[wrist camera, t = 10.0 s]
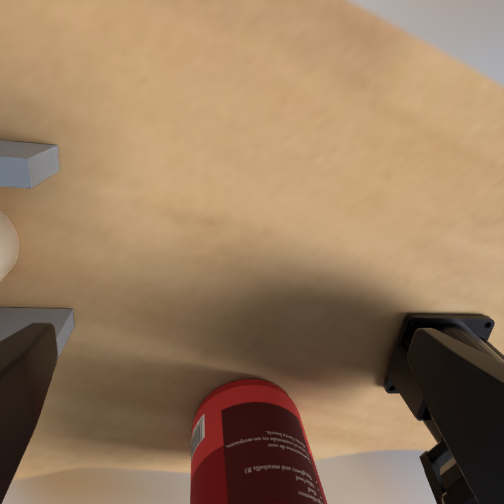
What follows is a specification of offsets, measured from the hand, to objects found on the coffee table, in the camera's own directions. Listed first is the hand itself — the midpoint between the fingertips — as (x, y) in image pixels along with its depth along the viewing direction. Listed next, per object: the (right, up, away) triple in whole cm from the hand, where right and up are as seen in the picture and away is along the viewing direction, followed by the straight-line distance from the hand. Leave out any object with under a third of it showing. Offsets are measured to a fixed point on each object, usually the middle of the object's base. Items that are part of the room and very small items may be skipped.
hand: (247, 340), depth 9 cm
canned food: (0, -10, +18) cm, 20 cm away
